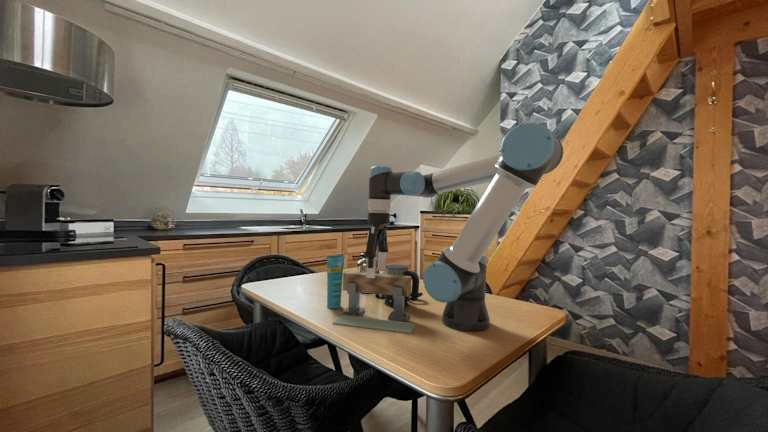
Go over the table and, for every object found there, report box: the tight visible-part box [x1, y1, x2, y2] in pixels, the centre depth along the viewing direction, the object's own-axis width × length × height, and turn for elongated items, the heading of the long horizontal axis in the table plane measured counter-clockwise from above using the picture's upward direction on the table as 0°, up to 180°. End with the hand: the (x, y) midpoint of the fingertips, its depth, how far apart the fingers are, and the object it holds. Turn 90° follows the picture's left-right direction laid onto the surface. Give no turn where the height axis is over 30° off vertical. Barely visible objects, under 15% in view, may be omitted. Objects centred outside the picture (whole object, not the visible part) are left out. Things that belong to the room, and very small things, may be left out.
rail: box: [342, 270, 412, 297], centre depth 116 cm, size 23×4×6 cm, turn 76°
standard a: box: [387, 287, 410, 322], centre depth 114 cm, size 6×6×11 cm
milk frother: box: [383, 263, 424, 308], centre depth 133 cm, size 14×16×15 cm
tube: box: [326, 254, 346, 309], centre depth 124 cm, size 7×5×19 cm, turn 134°
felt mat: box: [332, 314, 416, 334], centre depth 107 cm, size 25×8×1 cm, turn 76°
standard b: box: [342, 282, 366, 317], centre depth 118 cm, size 6×6×11 cm
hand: (376, 273), depth 116 cm, fingers open, 13 cm apart
